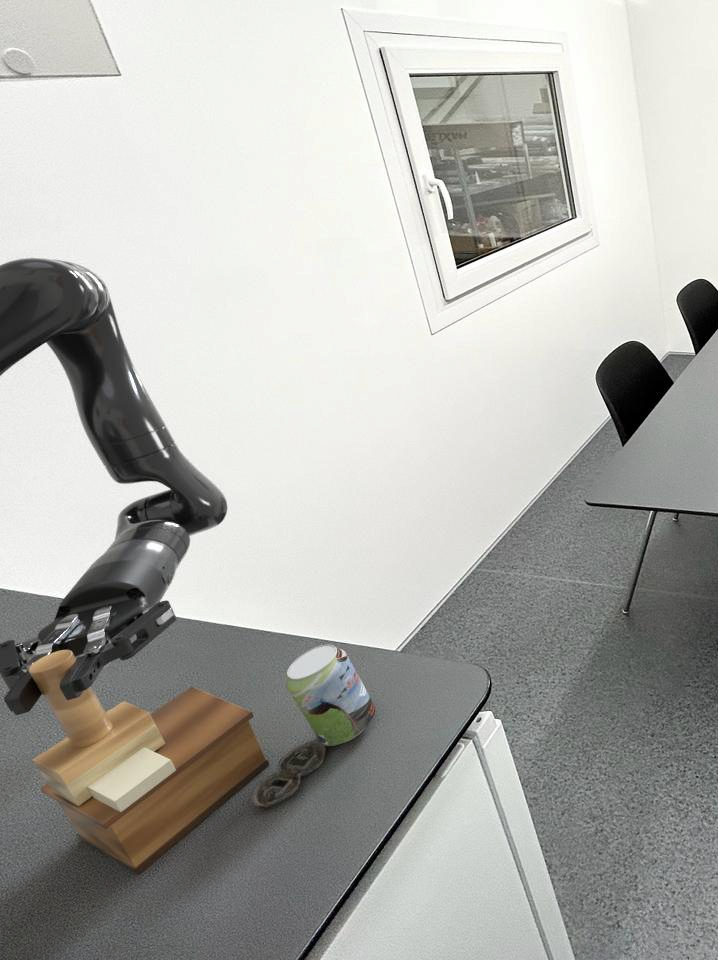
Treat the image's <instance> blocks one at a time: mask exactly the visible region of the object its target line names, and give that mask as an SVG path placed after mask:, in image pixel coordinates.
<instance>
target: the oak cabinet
mask: <svg viewBox="0 0 718 960" xmlns="http://www.w3.org/2000/svg"><path fill="white" fill-rule="evenodd" d="M150 715H151V717H152V719H153V720H154V722H155V724H156V726H157V728H158V730H159V732H160V734H161V736H162V738H163V740H164V742H165V744H164V745H163V746H161V747H160V748H159V749H157V750H156V751H154V752H155V753H157V754H159V755H161V756H164V757H166V758H168V759H170V760H171V762H172V763H173V765H174V767H175V769H176V771H175V772H173V773H172V774H171V775H169V776H168V777H167V778H165V779H164V780H163V781H161V782H160V783H159V784H157V785H156V786H155V787H154V788H152V789H151V790H150V791H148V792H147V793H146V794H144V795H143V796H142V797H140V798H139V799H138V800H136V801H135V802H134V803H132V804H131V805H130V806H129V807H127V808H126V809H125V810H123V811H122V812H119V811H117V810H115V809H114V808H112V807H110V806H108V805H106V804H104V803H102V802H101V801H99V800H97V799H95V798H93V796H92V797H91V798H89V799H88V800H86V801H85V802H84V803H82V804H81V805H80V806H78V805H76V804H74V803H72V802H70V801H69V800H67V799H65V798H63V797H61V796H60V795H58V794H56V793H54V792H52V790H51V788H50V787H49V785H48V784H47V783H46V784H44V785H42V786H40V788H39V789H40V791H41V792H42V794H43V795H45V796H47V797H48V798H50V799H52V800H54V801H56V802H57V803H58V805H59V806H60V808H61V810H62V811H63V813H64V814H65V816H66V818H67V819H68V821H69V822H70V824H71V826H72V827H73V829H74V830H75V832H76V837H77V838H78V840H79V841H80V842H82V843H83V844H85V845H87V846H88V847H90V848H92V849H93V850H95V851H97V852H99V853H100V854H102V855H103V856H105V857H107V858H109V859H110V860H112V861H114V862H115V863H116V864H119V865H120V866H122V867H124V869H125V868H126V869H127V870H129V871H131V872H132V873H133V874H135V875H136V876H137V875H138V876H139V875H140V874H142V873H143V872H144V871H145V870H146V869H147V868H148V867H150V866H151V865H152V864H153V863H155V862H156V861H157V860H158V859H160V857H161V856H163V855H164V854H165V853H167V852H168V851H169V850H170V849H171V848H172V847H174V846H175V845H176V844H177V843H178V842H179V841H181V840H182V839H183V838H184V837H185V836H186V835H188V834H189V833H190V832H191V831H192V830H194V829H195V828H196V827H197V826H198V825H199V824H200V823H202V822H203V821H204V820H205V819H207V818H208V817H209V816H210V815H212V813H214V812H215V811H216V810H217V809H219V808H220V807H221V806H222V805H223V804H224V803H226V802H227V801H228V800H229V799H231V797H233V796H234V795H236V793H238V792H239V791H240V790H241V789H242V788H243V787H245V786H246V785H247V784H248V783H250V782H251V781H252V780H253V779H255V778H256V777H257V776H258V775H259V774H260V773H261V772H262V771H264V770H265V769H266V768H267V767H269V766H270V762H269V760H268V758H266V757H265V755H264V753H263V750H262V748H261V746H260V743H259V741H258V739H257V737H256V734H255V732H254V730H253V727H252V725H251V723H250V721H251V720H252V718H254V713H253V712H252V711H251V710H249V709H246V708H245V707H243V706H239V705H237V704H235V703H232V702H230V701H228V700H225V699H223V698H220V697H217V696H216V695H214V694H211V693H208V692H206V691H204V690H201V689H199V688H197V687H195V686H190V687H189V688H187V689H185V690H184V691H182V693H180V694H178V695H177V696H175V697H174V698H172V699H171V700H169V701H168V702H166V703H164V704H163V705H161V706H160V707H159V708H158V709H156V710H155V711H152V712H151V713H150Z"/></svg>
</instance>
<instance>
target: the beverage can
mask: <svg viewBox="0 0 718 960" xmlns="http://www.w3.org/2000/svg"><path fill="white" fill-rule="evenodd" d="M286 675H287V678H286V681H285V682H286V683H285V684H286V689H287V690H288V692H289V694H290V695H291V697H292V699H293V700H294V702H295V703H296V705H297V707H298V709H299V710H300V712H301V713H302V715H303V717H304V718H305V720H306V721H307V723H308V724H309V726H310V728H311V729H312V731H313V732H314V734H315V736H316V737H317V740H319V741H320V742H321V743H322V744H323V745H325V746H326V747H333V746H339V745H341V744H344V743H347V742H349V741H351V740H353V739H355V738H356V737H357V736H359V735H360V734H361V733H362V732H364V730H365V729H366V728H367V727H368V726H369V724H370V723H371V722H372V720H373V719H374V716H375V713H376V705H375V704H374V702H373V699H372V698H371V696H370V694H369V693H368V690H367V689H366V687H365V685H364V683H363V682H362V679H361V678H360V676H359V674H358V672H357V671H356V669H355V667H354V665H353V663H352V661H351V659H350V658H349V656H348V654H347V652H346V651H345V650H344V649H342V648H339V647H336V646H335V645H333V644H321V645H318V646H315V647H312V648H311V649H309V650H307V651H305V652H304V653H302V654H301V655H300V656H298V657H297V658H296V659H295V660H293V662H292V663H291V664H290V666H289V667H288V668H287V671H286Z"/></svg>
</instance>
